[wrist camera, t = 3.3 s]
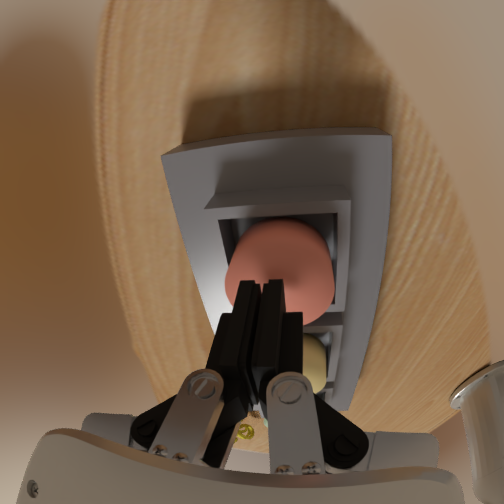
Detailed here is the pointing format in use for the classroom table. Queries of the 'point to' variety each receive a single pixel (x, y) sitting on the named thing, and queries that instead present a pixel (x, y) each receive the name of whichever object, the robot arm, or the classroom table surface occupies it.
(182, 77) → the classroom table surface
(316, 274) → the red button
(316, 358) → the mustard button
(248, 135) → the button panel
